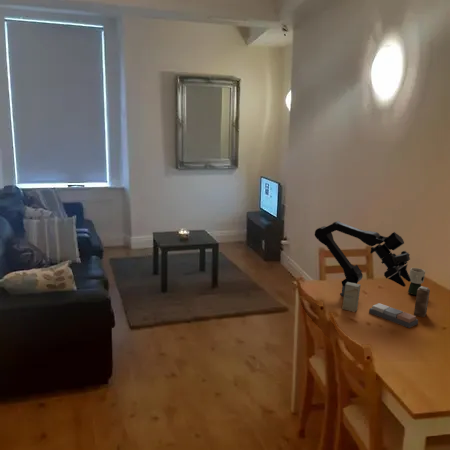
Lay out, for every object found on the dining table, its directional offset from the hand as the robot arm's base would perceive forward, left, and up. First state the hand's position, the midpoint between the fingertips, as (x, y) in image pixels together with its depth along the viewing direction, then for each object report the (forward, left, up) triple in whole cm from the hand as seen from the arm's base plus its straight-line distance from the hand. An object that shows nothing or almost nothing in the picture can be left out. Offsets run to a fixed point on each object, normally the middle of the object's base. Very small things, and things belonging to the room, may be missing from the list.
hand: (407, 283), depth 222 cm
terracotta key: (-6, -14, -11) cm, 19 cm away
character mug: (+16, +21, -13) cm, 29 cm away
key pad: (-9, -9, -13) cm, 19 cm away
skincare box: (-25, +1, -13) cm, 29 cm away
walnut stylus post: (+6, -5, -13) cm, 15 cm away
